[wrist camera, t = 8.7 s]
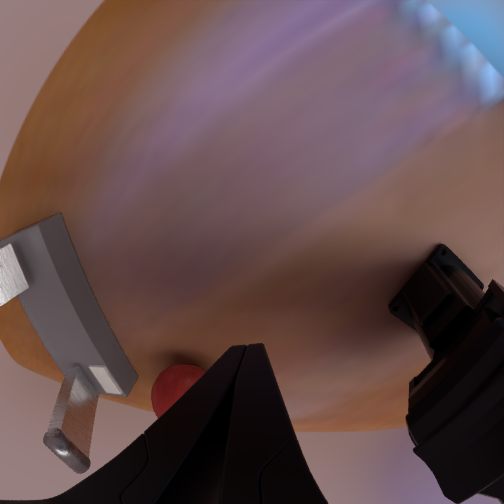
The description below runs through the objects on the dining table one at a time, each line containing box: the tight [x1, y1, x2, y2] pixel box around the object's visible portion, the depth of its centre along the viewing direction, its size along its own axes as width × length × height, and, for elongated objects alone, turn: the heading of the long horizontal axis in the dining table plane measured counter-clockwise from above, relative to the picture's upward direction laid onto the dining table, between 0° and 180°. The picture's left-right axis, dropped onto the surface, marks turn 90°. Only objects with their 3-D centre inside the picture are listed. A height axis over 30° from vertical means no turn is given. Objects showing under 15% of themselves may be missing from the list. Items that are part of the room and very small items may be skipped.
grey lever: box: [43, 366, 99, 474], centre depth 20 cm, size 2×4×10 cm, turn 13°
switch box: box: [0, 213, 138, 397], centre depth 24 cm, size 8×18×3 cm, turn 13°
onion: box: [151, 364, 206, 418], centre depth 22 cm, size 6×6×8 cm
